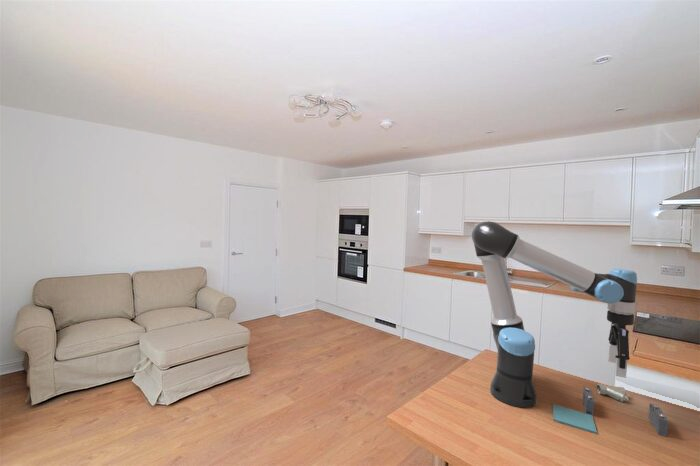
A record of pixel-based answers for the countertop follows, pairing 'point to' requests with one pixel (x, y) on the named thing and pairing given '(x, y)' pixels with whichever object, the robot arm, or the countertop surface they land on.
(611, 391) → the pipe fitting
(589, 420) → the mat
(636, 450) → the countertop surface
